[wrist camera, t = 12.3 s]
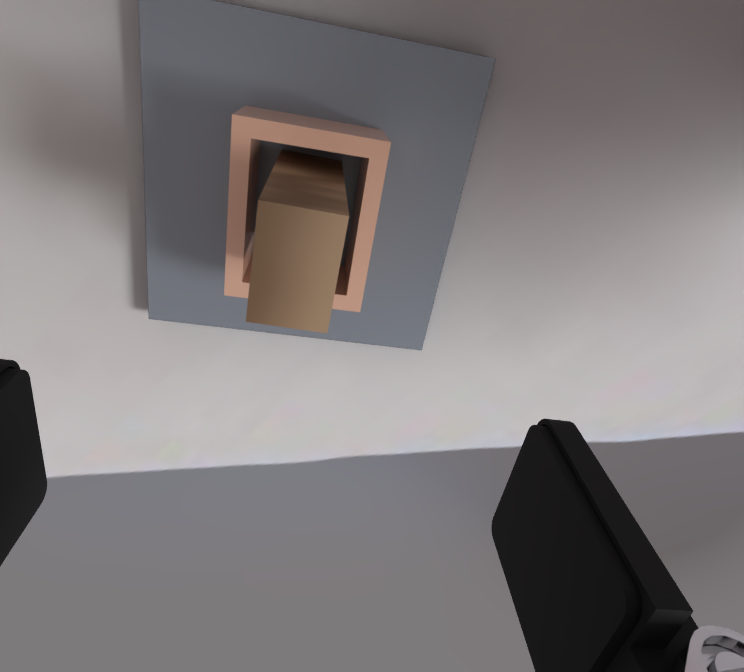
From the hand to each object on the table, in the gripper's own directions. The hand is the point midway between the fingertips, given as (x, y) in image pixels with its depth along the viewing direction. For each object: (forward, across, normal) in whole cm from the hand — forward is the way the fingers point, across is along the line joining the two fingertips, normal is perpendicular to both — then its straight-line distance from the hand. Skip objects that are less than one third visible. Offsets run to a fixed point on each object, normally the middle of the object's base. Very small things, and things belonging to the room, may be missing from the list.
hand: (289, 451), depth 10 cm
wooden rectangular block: (+19, +1, 0) cm, 19 cm away
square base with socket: (+20, +1, 0) cm, 20 cm away
